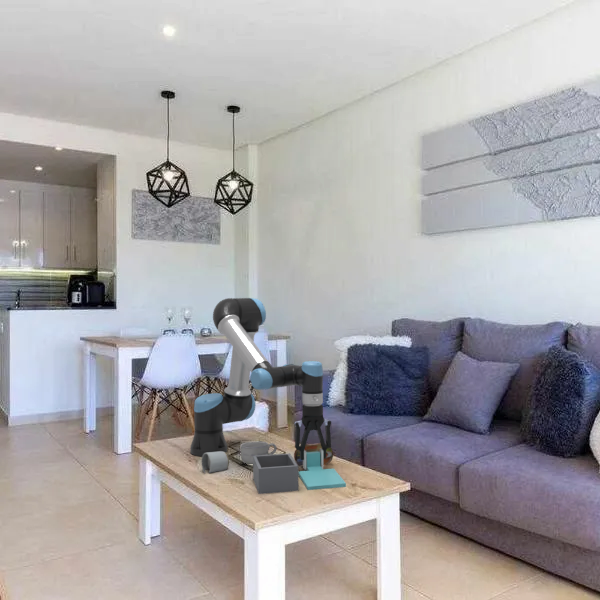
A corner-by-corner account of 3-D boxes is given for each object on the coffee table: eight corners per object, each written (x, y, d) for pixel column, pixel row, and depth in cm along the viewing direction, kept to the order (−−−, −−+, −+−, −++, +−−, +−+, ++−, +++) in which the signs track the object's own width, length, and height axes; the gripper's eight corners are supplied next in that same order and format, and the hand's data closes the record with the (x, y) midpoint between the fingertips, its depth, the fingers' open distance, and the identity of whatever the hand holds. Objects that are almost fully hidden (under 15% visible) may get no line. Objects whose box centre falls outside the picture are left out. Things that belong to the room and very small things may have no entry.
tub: (253, 481, 190) (253, 455, 190) (290, 478, 193) (289, 453, 193) (258, 496, 176) (258, 468, 176) (298, 493, 178) (298, 466, 178)
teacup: (239, 468, 205) (239, 447, 205) (241, 460, 216) (241, 440, 216) (276, 468, 206) (276, 446, 206) (276, 459, 217) (276, 439, 217)
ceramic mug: (230, 472, 201) (230, 451, 201) (210, 476, 196) (210, 455, 196) (216, 466, 210) (216, 445, 210) (197, 470, 205) (196, 449, 205)
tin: (295, 469, 205) (295, 446, 205) (293, 466, 208) (293, 444, 208) (333, 465, 209) (333, 443, 209) (330, 463, 212) (330, 441, 212)
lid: (295, 472, 199) (294, 453, 199) (329, 469, 202) (329, 450, 202) (307, 493, 179) (307, 472, 179) (346, 489, 182) (345, 468, 182)
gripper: (289, 407, 194) (289, 472, 194) (340, 404, 198) (340, 469, 198) (285, 403, 202) (286, 466, 202) (334, 401, 205) (335, 463, 205)
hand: (313, 467), depth 200 cm, fingers open, 6 cm apart
